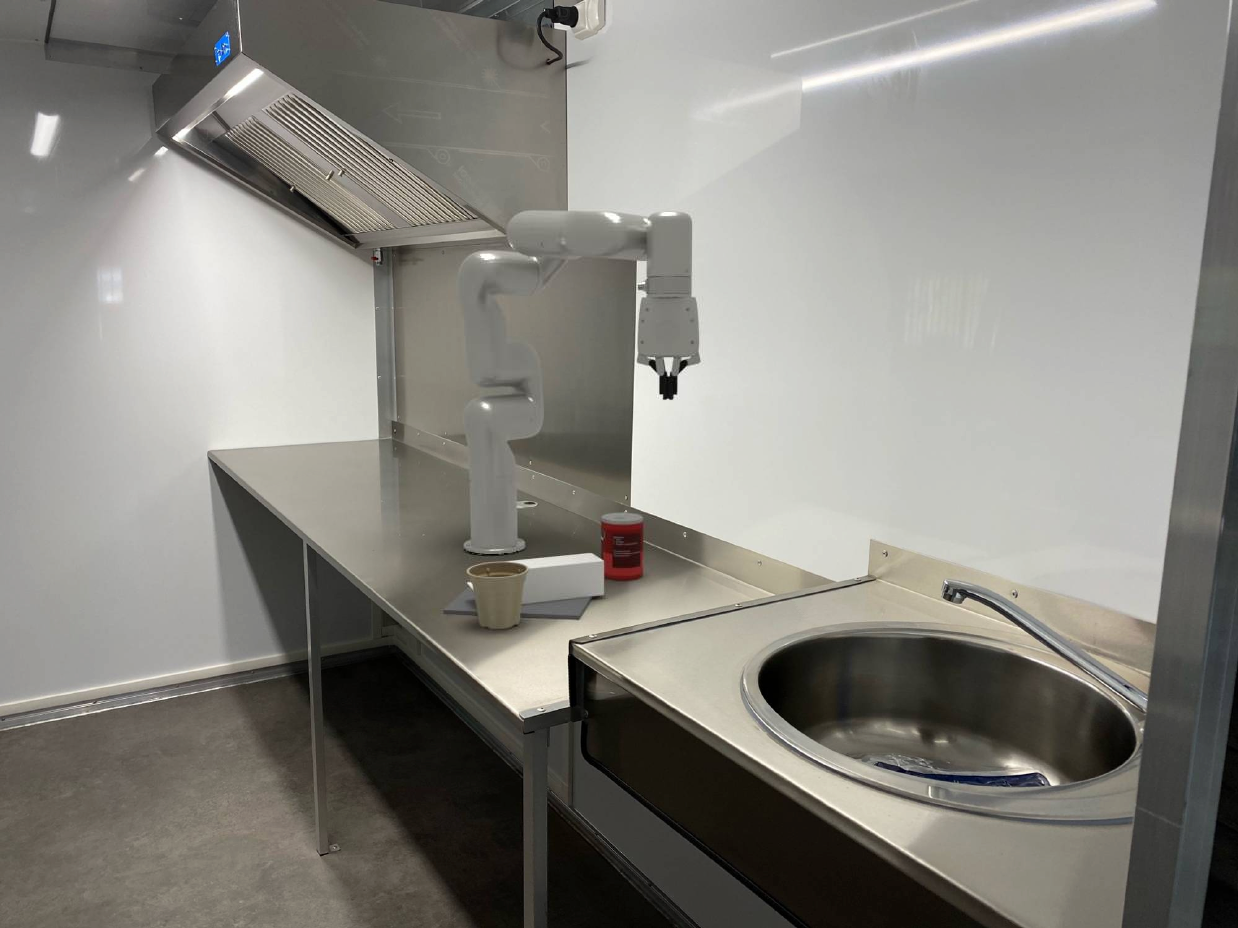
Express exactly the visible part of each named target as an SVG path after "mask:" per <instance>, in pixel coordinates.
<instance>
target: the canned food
mask: <svg viewBox="0 0 1238 928" xmlns="http://www.w3.org/2000/svg"><path fill="white" fill-rule="evenodd" d="M644 528H645V527H644V517H643V516H642V515H641V514H638V513H634V512H633V513H632V512H611V513H605V514H602V515H601V519H600V556H601V557H600V559H602V560H603V561H604V578H606V579H609V580H612V581H613V580H614V581H633V580H634V581H635V580H638V579H639V578H641V577H642V576H643V573H644Z"/></svg>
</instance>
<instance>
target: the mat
mask: <svg viewBox="0 0 1238 928" xmlns="http://www.w3.org/2000/svg"><path fill="white" fill-rule="evenodd" d="M593 597H594V596H590V597H582V598H573V599H565V600H556V601H548V602H539V603H531V604H522V605H521V613H520V618H537V619H538V618H541V619H561V620H562V619H563V620H564V619H565V620H580V619H581V617H582V615H583V614H584V612H585V611H586V609H587V607H588V605H590V602H591V601H592V599H593ZM443 614H446V615H447V614H449V615H469V616H478V613H477V607H476V601H475V596H474V591H473V589H472V588H471V587H470V586H469V585H468V587H467V588H466V589H465V590H464V591H462V593H460V594H459V595H458V596H456V598H454V600H452V602H450V604H448V605H447V606H445V608H444V609H443Z"/></svg>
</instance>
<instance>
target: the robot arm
mask: <svg viewBox="0 0 1238 928" xmlns="http://www.w3.org/2000/svg"><path fill="white" fill-rule="evenodd" d="M505 231H506V233H505V235H506V239H507V242H508V244H509V246H510V247H511V248H512V249H513V250H514V251H506V250H493V249H492V250H491V249H488V250H487V249H486V250H480V251H475V252H473V253H471V254H469V255H467V257H465V258H464V260H463V261H462V263H461V264H460V266H459V268H458V271H457V277H456V293H457V296H458V297H457V298H458V303H459V305H460V310H461V314H462V321H463V335H464V337H463V338H464V347H465V360H466V361H465V363H466V371H467V376H468V380H469V381H470V382H471V384H472V385H473V386H475V387H477V388H481V389H482V388H483V389H498V388H499V389H500V388H507V393H500V394H499V393H498V394H487V395H481V396H477V397H475V398H473V399H471V400H470V401H469V402H468V403H467V404H466V405H465V407H464V409H463V412H462V424H463V430H464V435H465V439H466V445H467V453H468V468H469V469H468V474H469V505H470V506H469V507H470V508H469V509H470V539H468V540H467V541H464V543H463V549H464V548H465V549H466V550H469V551H474V552H476V553H484V554H499V555H505V554H504V553H508V554H512V553H513V552H514V553H517V552H516V551H518V552H520V551H522V550H524V549H526V542H525V540H523V539H522V538H518V493H517V492H518V490H517V489H518V488H517V486H518V484H517V480H518V479H517V465H516V464H517V462H516V458H515V455H514V453H513V451H512V449H511V447H510V446H509V443H508V441H516V440H521V439H529V438H533V437H535V436H536V435H537V434H538V433H539V432H540V431H541V429H542V426H543V423H544V419H545V418H544V417H545V414H544V413H545V409H544V408H545V406H544V404H545V403H544V392H543V391H544V390H543V388H544V387H543V375H542V365H541V360H540V357H539V354H538V352H537V351H536V349H535V348H534V347H533V346H532V345H531V344H530V343H528V342H526V341H523V340H509V338H508V331H507V330H508V329H507V327H508V326H507V318H506V316H505V313H504V311H503V308H502V306H501V305H500V303H499V302H498V301H497V300H496V296H497V295H500V296H514V297H515V296H516V297H517V296H518V297H519V296H520V297H522V296H523V297H530V296H534V295H537V294H539V293H541V292H542V291H543V290H545V289H546V287H547V286H548V285H549V284H550V283H551V282H552V280H553V279H554V278H555V277H556V276H557V275H558V273H560V272H561V270H562V269H563V267H565V265H566V264H567V263H568V262H569V261H570V260H578V259H580V258H582V257H588V258H601V259H603V258H604V259H613V260H614V259H615V260H625V261H626V260H629V261H638V262H646V277H645V280H643V281H638V282H637V290H638V291H642V292H644V293H645V294H646V297H641V300H640V304H639V312H638V323H637V344H636V345H637V346H636V347H637V357H636V363H638V364H641V365H644V366H646V367H647V366H648V367H650V368H651V369H652V370H653V371H654V372H655V373H656V374H657V375H658V376H659V377H658V394H659V395H660V396H662V401H666V400H669V401H674V397H675V396H677V395H678V388H679V387H678V379H679V378H678V376H679V374H681V373H682V371H684V369H686V368H687V367H691V366H693V365H694V366H695V365H699V364H700V363H701V357H700V352H699V349H700V324H699V323H700V322H699V311H698V310H699V309H698V303H697V302H698V301H697V297H696V296H695V297H694V296H692V295H693V293H692V291H693V289H692V285H693V282H692V281H693V279H692V278H693V270H692V269H693V220H692V218H691V216H690V215H689V214H688V213H686V212H681V211H658V212H654V213H652V214H650V215H649V216H645V215H638V214H633V213H625V212H615V211H599V210H598V211H597V210H596V211H594V210H592V211H591V210H590V211H588V210H584V211H583V210H544V209H543V210H541V209H540V210H537V209H536V210H535V209H532V210H523V211H521V212H518V213H517V214H515V215H514V216H513V217H511V218H510V220H509V221H508V223H507V225H506V230H505ZM515 251H516V252H515ZM665 358H672V359H673V360H672V366H671V370H670V372H669V375H668V371H667V370H666V364H665ZM683 358H685V359H683ZM674 395H675V396H674ZM502 553H503V554H502ZM514 553H513V554H514Z"/></svg>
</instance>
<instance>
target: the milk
mask: <svg viewBox="0 0 1238 928" xmlns="http://www.w3.org/2000/svg"><path fill="white" fill-rule="evenodd" d="M504 562H516V563H521V564H524V565H526V566H528V568H529V571H528V573H526V580H525V581H524V586H523V595H522V603H521V605H522V604H531V603H539V602H548V601H556V600H565V599H573V598H582V597H590V596H593V597H597V596H605V577H604V561H603V560H602V559H601V557H599V556H597V555H596V554H594V553H592V552H588V553H587V552H586V553H578V554H568V555H559V556H558V555H557V556H547V557H538V558H537V557H536V558H528V559H516V560H508V561H507V560H506V561H504ZM466 585H468V587H469V586H470V587H471V588H472V589H473V585H472V583H471V582H470V581H469V582H467V583H466Z"/></svg>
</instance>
